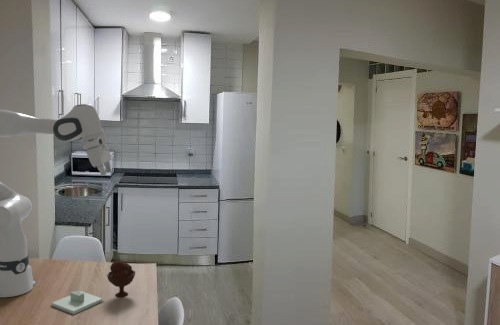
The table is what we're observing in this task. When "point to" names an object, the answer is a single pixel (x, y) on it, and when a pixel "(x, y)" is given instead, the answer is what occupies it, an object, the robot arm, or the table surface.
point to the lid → (77, 302)
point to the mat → (75, 313)
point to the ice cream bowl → (121, 276)
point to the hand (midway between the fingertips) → (106, 173)
